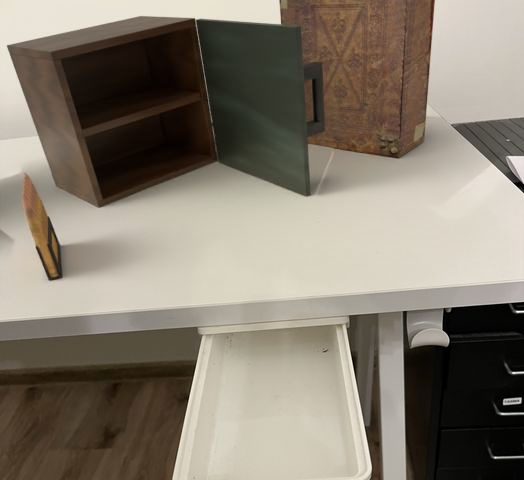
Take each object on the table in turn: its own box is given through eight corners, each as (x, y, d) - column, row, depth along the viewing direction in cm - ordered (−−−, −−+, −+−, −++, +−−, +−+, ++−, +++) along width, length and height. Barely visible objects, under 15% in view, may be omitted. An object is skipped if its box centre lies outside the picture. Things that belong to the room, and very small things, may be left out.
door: (246, 151, 110) (229, 12, 95) (337, 183, 92) (333, 17, 77) (218, 162, 107) (195, 19, 92) (306, 196, 89) (295, 27, 74)
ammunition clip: (62, 277, 77) (30, 195, 69) (48, 280, 76) (15, 199, 69) (60, 246, 85) (31, 169, 78) (48, 248, 85) (18, 172, 77)
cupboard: (218, 161, 108) (195, 18, 93) (99, 208, 95) (50, 51, 80) (168, 145, 119) (140, 15, 104) (55, 186, 107) (6, 45, 92)
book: (289, 141, 112) (275, -37, 94) (315, 127, 118) (307, -44, 99) (400, 158, 98) (409, -47, 80) (424, 142, 103) (438, -55, 85)
